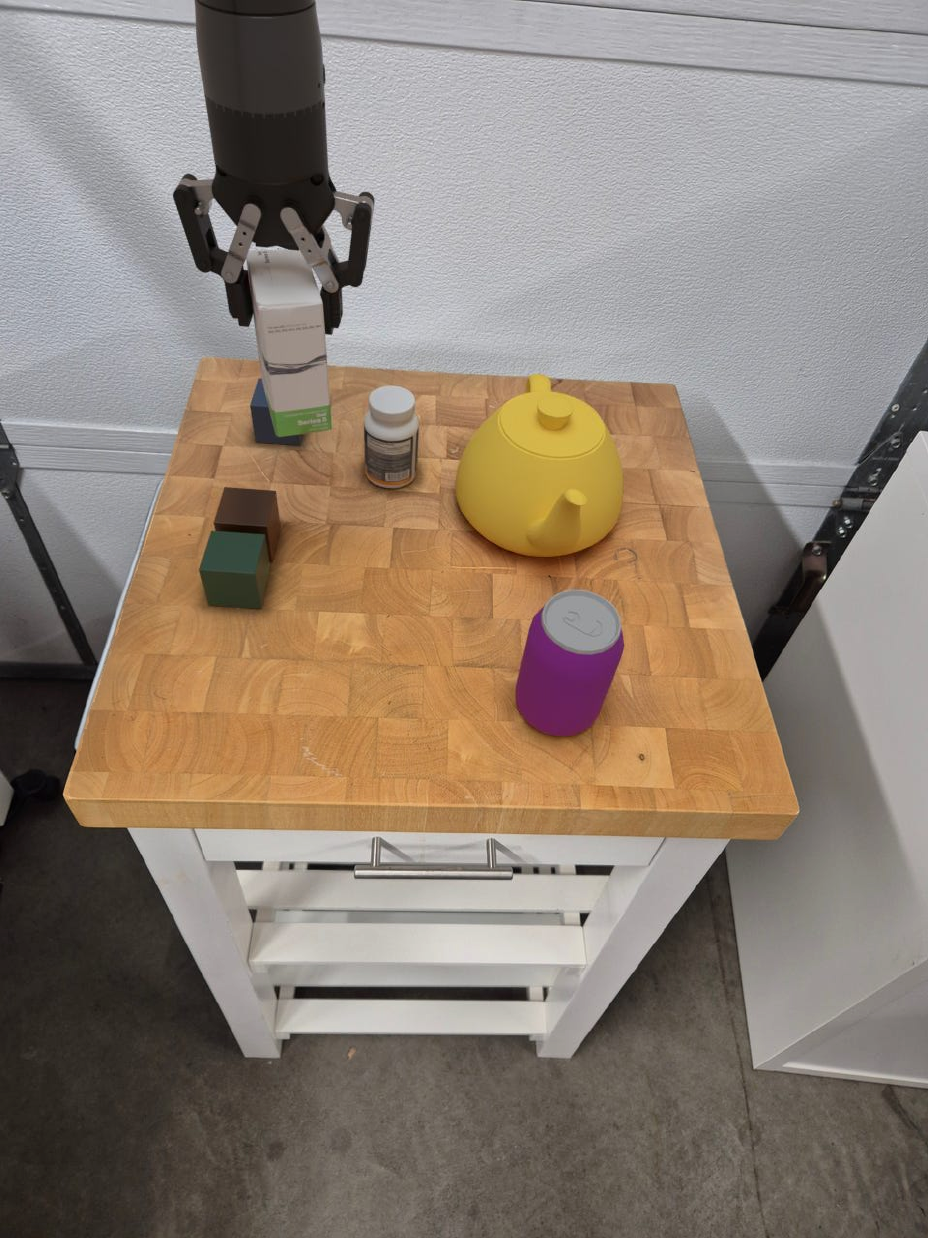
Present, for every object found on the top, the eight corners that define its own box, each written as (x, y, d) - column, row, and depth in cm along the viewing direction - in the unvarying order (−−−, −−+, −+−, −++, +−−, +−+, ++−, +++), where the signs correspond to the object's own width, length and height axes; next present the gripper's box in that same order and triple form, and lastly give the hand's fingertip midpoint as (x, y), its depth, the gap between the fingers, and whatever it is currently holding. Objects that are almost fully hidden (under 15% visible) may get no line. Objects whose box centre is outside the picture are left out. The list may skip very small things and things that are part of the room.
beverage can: (498, 717, 71) (516, 632, 62) (534, 656, 76) (556, 568, 66) (579, 756, 69) (610, 674, 60) (611, 691, 74) (644, 606, 64)
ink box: (333, 432, 68) (326, 301, 59) (274, 439, 67) (256, 307, 58) (315, 372, 73) (306, 244, 64) (260, 378, 72) (242, 248, 63)
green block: (207, 605, 76) (198, 569, 72) (219, 566, 79) (210, 530, 76) (261, 609, 76) (255, 573, 73) (270, 570, 80) (265, 533, 76)
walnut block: (221, 559, 80) (213, 522, 76) (231, 523, 83) (224, 486, 79) (272, 562, 80) (267, 526, 76) (280, 527, 83) (276, 490, 80)
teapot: (640, 604, 81) (679, 502, 70) (462, 605, 79) (475, 500, 68) (596, 442, 96) (623, 338, 86) (447, 439, 94) (455, 333, 84)
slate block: (255, 442, 91) (249, 405, 88) (263, 414, 95) (258, 377, 91) (300, 445, 92) (296, 409, 88) (306, 418, 95) (303, 381, 91)
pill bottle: (377, 451, 92) (377, 375, 84) (424, 465, 91) (428, 390, 83) (356, 481, 89) (353, 405, 81) (404, 497, 88) (407, 422, 80)
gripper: (131, 94, 49) (184, 343, 62) (371, 118, 49) (373, 361, 62) (165, 52, 54) (208, 292, 67) (383, 75, 54) (383, 308, 67)
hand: (288, 324), depth 64 cm, fingers closed on ink box, 6 cm apart
